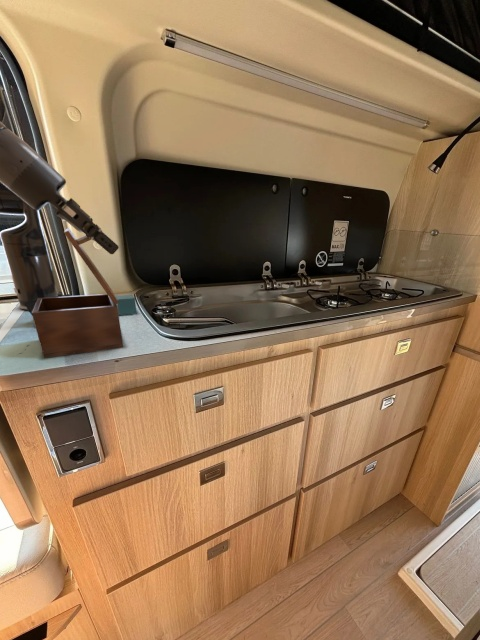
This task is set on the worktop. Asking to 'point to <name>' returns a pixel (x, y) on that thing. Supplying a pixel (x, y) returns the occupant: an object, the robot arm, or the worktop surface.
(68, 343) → the chest
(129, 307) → the block
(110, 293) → the lid
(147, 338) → the worktop surface
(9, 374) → the worktop surface
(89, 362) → the worktop surface
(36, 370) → the worktop surface
